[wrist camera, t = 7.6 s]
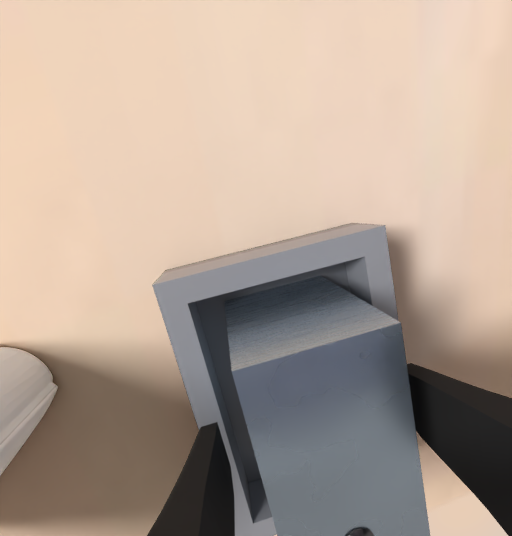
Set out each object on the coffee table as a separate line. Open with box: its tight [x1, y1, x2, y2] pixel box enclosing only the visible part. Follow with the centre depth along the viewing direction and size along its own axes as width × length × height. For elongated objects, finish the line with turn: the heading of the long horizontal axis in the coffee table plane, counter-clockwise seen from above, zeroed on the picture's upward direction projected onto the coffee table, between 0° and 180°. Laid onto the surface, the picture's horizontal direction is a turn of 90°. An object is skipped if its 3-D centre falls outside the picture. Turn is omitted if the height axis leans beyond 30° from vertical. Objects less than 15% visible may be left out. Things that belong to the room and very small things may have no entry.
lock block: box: [224, 275, 430, 536], centre depth 11 cm, size 4×8×6 cm, turn 13°
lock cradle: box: [153, 223, 398, 536], centre depth 14 cm, size 9×12×3 cm
